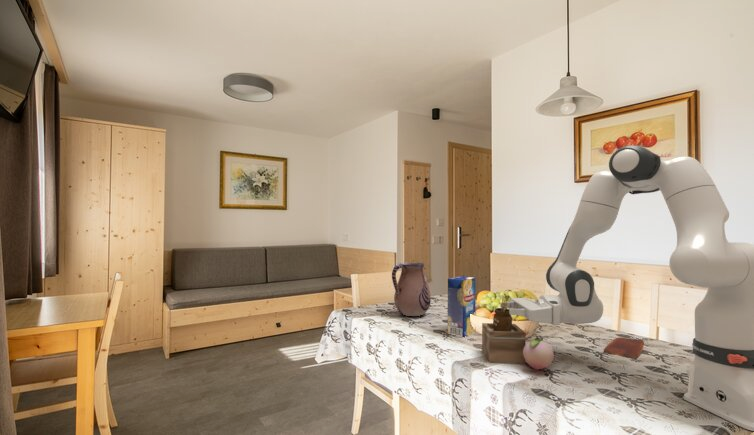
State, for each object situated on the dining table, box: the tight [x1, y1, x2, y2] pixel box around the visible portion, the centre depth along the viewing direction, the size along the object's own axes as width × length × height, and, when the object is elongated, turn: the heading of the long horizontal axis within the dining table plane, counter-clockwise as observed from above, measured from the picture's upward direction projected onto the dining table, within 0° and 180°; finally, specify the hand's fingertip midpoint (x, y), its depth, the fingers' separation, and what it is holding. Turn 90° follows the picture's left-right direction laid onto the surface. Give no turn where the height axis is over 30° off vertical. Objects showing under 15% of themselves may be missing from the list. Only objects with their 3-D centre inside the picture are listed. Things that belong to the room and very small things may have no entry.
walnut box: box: [481, 322, 527, 364], centre depth 122 cm, size 11×11×10 cm
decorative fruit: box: [523, 335, 555, 371], centre depth 111 cm, size 9×8×10 cm
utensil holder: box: [492, 296, 513, 331], centre depth 124 cm, size 6×6×12 cm
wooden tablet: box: [603, 337, 645, 360], centre depth 134 cm, size 27×10×2 cm, turn 138°
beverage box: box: [447, 275, 476, 338], centre depth 150 cm, size 7×11×22 cm, turn 141°
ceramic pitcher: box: [391, 261, 432, 317], centre depth 179 cm, size 18×21×25 cm
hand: (504, 308), depth 122 cm, fingers open, 8 cm apart
